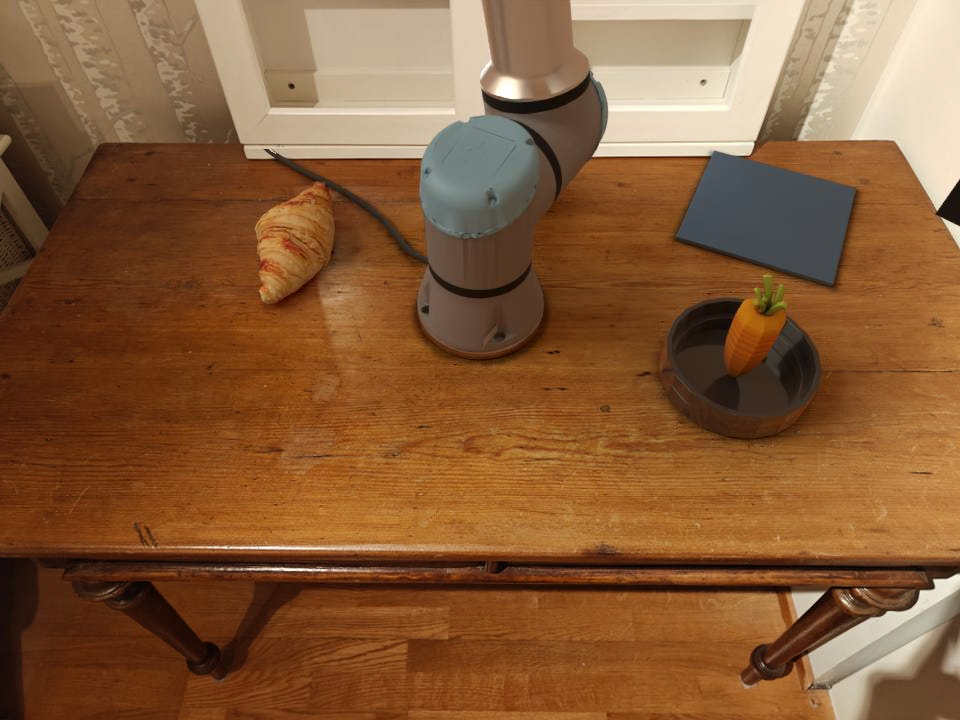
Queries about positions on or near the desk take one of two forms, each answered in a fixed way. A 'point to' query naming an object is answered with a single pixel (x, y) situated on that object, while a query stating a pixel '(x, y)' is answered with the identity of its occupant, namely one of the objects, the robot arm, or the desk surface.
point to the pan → (736, 400)
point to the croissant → (295, 242)
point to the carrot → (754, 329)
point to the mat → (769, 217)
